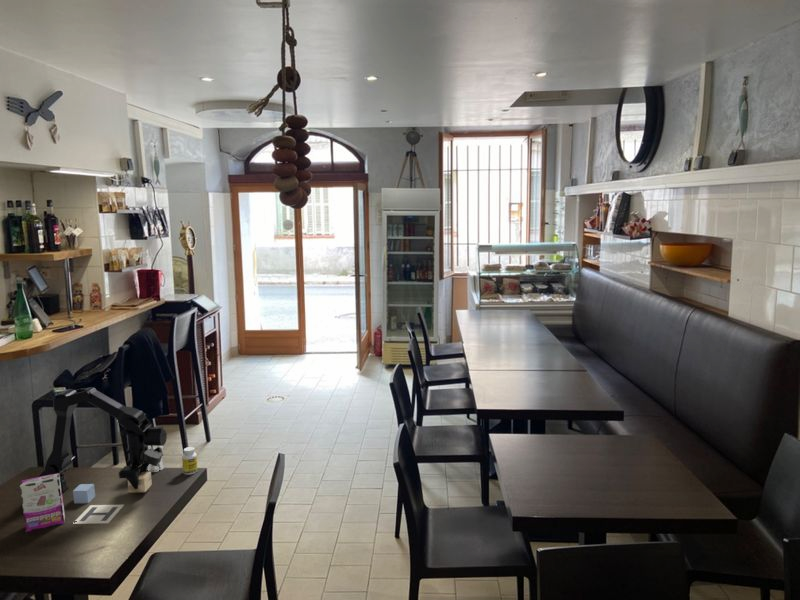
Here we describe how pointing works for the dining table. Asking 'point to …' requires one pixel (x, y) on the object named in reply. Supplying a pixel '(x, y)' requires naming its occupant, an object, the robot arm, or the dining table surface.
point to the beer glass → (160, 464)
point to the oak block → (142, 483)
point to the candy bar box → (42, 502)
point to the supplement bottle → (189, 461)
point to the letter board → (98, 514)
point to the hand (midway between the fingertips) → (139, 484)
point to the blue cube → (84, 493)
